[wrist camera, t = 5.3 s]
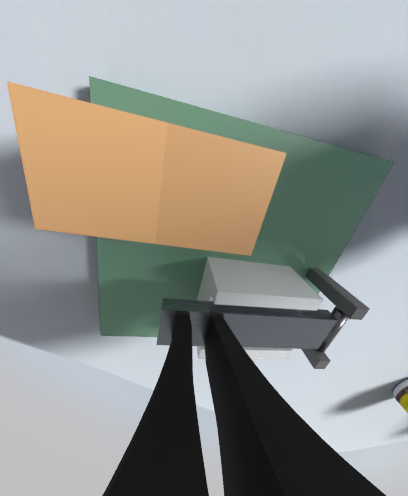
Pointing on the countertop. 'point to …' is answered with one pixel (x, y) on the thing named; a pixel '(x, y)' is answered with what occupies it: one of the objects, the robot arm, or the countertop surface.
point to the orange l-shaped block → (139, 176)
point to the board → (268, 241)
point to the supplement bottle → (402, 394)
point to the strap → (255, 324)
